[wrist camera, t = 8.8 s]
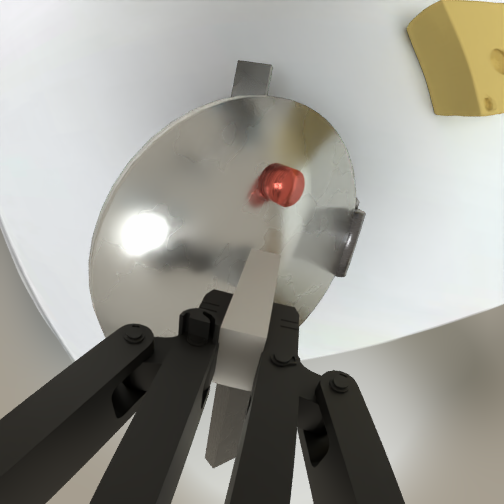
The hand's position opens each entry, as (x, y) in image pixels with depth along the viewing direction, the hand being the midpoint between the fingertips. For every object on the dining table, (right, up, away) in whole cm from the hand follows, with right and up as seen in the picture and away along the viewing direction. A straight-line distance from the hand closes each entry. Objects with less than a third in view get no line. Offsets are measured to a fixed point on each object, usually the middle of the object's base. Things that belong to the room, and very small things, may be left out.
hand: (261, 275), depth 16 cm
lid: (-2, -4, +4) cm, 6 cm away
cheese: (+21, +21, +7) cm, 30 cm away
